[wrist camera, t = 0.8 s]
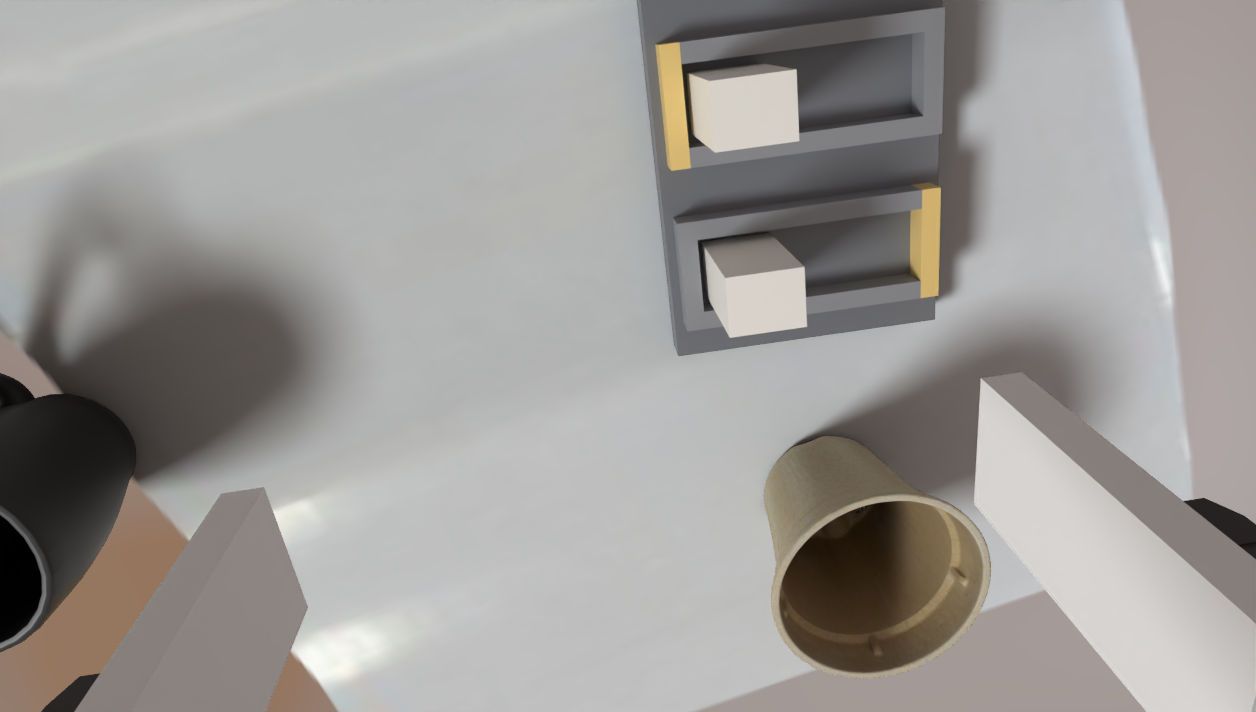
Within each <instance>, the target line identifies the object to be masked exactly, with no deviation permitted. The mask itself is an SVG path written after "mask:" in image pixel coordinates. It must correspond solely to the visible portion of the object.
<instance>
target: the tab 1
mask: <svg viewBox="0 0 1256 712" xmlns="http://www.w3.org/2000/svg"><path fill="white" fill-rule="evenodd" d="M686 79H687V90H688V101H689V112H690V123H691V134H692V135H694V136H695V137H696V138H697V139H699V140H700V141H701V142H702V143H704V144H705V145H706V146H707V147H709V148H710V149H711V150H712V151H714V152H715V153H717V152H724V151H731V150H739V149H746V148H753V147H761V146H768V145H775V144H782V143H790V142H797V141H799V118H798V94H797V69H792V68H786V67H780V66H775V65H769V64H764V63H754V64H747V65H740V66H732V67H725V68H717V69H710V70H702V71H695V72H687V73H686Z"/></svg>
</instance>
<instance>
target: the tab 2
mask: <svg viewBox="0 0 1256 712" xmlns="http://www.w3.org/2000/svg"><path fill="white" fill-rule="evenodd" d="M701 246H702V257H703V268H704V279H705V291H706V296H707V297H708V299H709V301H710V303H711V305H712V306H713V308H714V310H715V312H716V314H717V316H718V317H719V319H720V321H721V323H722V325H723V326H724V328H725V330H726V332H727V334H728V335H729V337H730V338H733V337H740V336H747V335H754V334H761V333H768V332H775V331H782V330H789V329H796V328H803V327H807V314H806V289H805V267H804V266H803V265H802V264H801V263H800V262H799V261H798V260H797V259H796V258H795V257H794V256H793V255H792V254H791V253H790V252H789V251H788V250H787V249H786V248H785V247H784V246H783V245H782V244H781V243H780V242H779V241H778V240H776V239H775V238H774V237H773V236H772V235H771V234H770V233H762V234H755V235H748V236H741V237H734V238H727V239H720V240H712V241H705V242H701Z"/></svg>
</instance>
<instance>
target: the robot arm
mask: <svg viewBox="0 0 1256 712" xmlns="http://www.w3.org/2000/svg"><path fill="white" fill-rule="evenodd" d="M974 504H975V505H976V507H977V508H978V509H979V510H980V511H981V513H982V514H983V515H984V516H985V517H986V519H987V520H988V521H989V522H990V523H991V525H992V526H993V527H994V528H995V530H996V531H997V532H998V533H999V534H1000V536H1001V537H1002V538H1003V539H1004V540H1005V542H1006V543H1007V544H1008V545H1009V546H1010V548H1011V549H1012V550H1013V551H1014V552H1015V554H1016V555H1017V556H1018V557H1019V558H1020V560H1021V561H1022V562H1023V563H1024V565H1025V566H1026V567H1027V568H1028V569H1029V571H1030V572H1031V573H1032V574H1033V575H1034V577H1035V578H1036V579H1037V580H1038V581H1039V583H1040V584H1041V585H1042V586H1043V587H1044V589H1045V590H1046V591H1047V592H1048V593H1049V595H1050V596H1051V597H1052V598H1053V600H1054V601H1055V602H1056V603H1057V604H1058V606H1059V607H1060V608H1061V609H1062V610H1063V612H1064V613H1065V614H1066V615H1067V616H1068V617H1069V619H1070V620H1071V621H1072V622H1073V624H1074V625H1075V626H1076V627H1077V628H1078V630H1079V631H1080V632H1081V633H1082V634H1083V636H1084V637H1085V638H1086V639H1087V640H1088V642H1089V643H1090V644H1091V645H1092V647H1093V648H1094V649H1095V650H1096V651H1097V653H1098V654H1099V655H1100V656H1101V657H1102V659H1103V660H1104V661H1105V662H1106V663H1107V665H1108V666H1109V667H1110V668H1111V669H1112V671H1113V672H1114V673H1115V674H1116V675H1117V677H1118V678H1119V679H1120V680H1121V682H1122V683H1123V684H1124V685H1125V686H1126V688H1127V689H1128V690H1129V691H1130V692H1131V694H1132V695H1133V696H1134V697H1135V698H1136V699H1137V701H1138V702H1139V703H1140V704H1141V706H1142V707H1143V708H1144V709H1145V711H1147V712H1256V525H1255V524H1254V523H1253V522H1251V521H1250V520H1249V519H1248V518H1246V517H1245V516H1243V515H1241V514H1239V513H1237V512H1234V511H1232V510H1230V509H1228V508H1225V507H1223V506H1221V505H1219V504H1217V503H1214V502H1212V501H1210V500H1207V499H1205V498H1201V499H1195V500H1189V501H1182V500H1181V499H1180V498H1178V497H1177V496H1176V495H1175V494H1173V493H1172V492H1171V491H1170V490H1169V489H1167V488H1166V487H1165V486H1164V485H1162V484H1161V483H1160V482H1159V481H1157V480H1156V479H1155V478H1154V477H1152V476H1151V475H1150V474H1149V473H1147V472H1146V471H1145V470H1144V469H1142V468H1141V467H1140V466H1139V465H1137V464H1136V463H1135V462H1134V461H1132V460H1131V459H1130V458H1129V457H1127V456H1126V455H1125V454H1124V453H1122V452H1121V451H1120V450H1119V449H1117V448H1116V447H1115V446H1114V445H1112V444H1111V443H1110V442H1109V441H1107V440H1106V439H1105V438H1104V437H1102V436H1101V435H1100V434H1099V433H1097V432H1096V431H1095V430H1094V429H1092V428H1091V427H1090V426H1089V425H1087V424H1086V423H1085V422H1084V421H1082V420H1081V419H1080V418H1079V417H1077V416H1076V415H1075V414H1074V413H1072V412H1071V411H1070V410H1069V409H1067V408H1066V407H1065V406H1064V405H1062V404H1061V403H1060V402H1059V401H1057V400H1056V399H1055V398H1054V397H1052V396H1051V395H1050V394H1049V393H1047V392H1046V391H1045V390H1044V389H1042V388H1041V387H1040V386H1039V385H1037V384H1036V383H1035V382H1034V381H1032V380H1031V379H1030V378H1029V377H1027V376H1026V375H1025V374H1024V373H1022V372H1018V373H1012V374H1005V375H998V376H992V377H985V378H981V384H980V402H979V420H978V438H977V457H976V475H975V493H974ZM307 608H308V606H307V603H306V601H305V598H304V595H303V593H302V590H301V587H300V584H299V582H298V579H297V576H296V573H295V571H294V568H293V565H292V562H291V560H290V557H289V554H288V552H287V549H286V546H285V543H284V541H283V538H282V535H281V532H280V530H279V527H278V524H277V521H276V519H275V516H274V513H273V511H272V508H271V505H270V502H269V500H268V497H267V494H266V491H265V489H264V487H263V488H256V489H250V490H243V491H237V492H230V493H224V494H221V495H220V496H219V498H218V499H217V501H216V502H215V504H214V505H213V507H212V508H211V510H210V511H209V513H208V514H207V516H206V517H205V519H204V520H203V522H202V523H201V525H200V526H199V528H198V529H197V531H196V532H195V534H194V535H193V537H192V538H191V540H190V541H189V542H188V544H187V545H186V547H185V549H184V550H183V552H182V553H181V555H180V556H179V557H178V559H177V560H176V562H175V563H174V565H173V566H172V568H171V569H170V571H169V572H168V574H167V575H166V577H165V578H164V580H163V581H162V583H161V584H160V586H159V587H158V589H157V590H156V592H155V593H154V594H153V596H152V597H151V599H150V600H149V602H148V603H147V605H146V606H145V608H144V609H143V611H142V612H141V614H140V615H139V617H138V618H137V620H136V621H135V623H134V624H133V626H132V627H131V629H130V630H129V632H128V633H127V635H126V636H125V637H124V639H123V640H122V642H121V644H120V645H119V646H118V648H117V649H116V651H115V652H114V654H113V655H112V657H111V658H110V660H109V661H108V663H107V664H106V666H105V667H104V669H103V670H102V672H101V673H100V674H94V675H87V676H80V677H79V678H78V679H76V680H75V681H74V682H73V683H72V684H71V685H70V686H68V687H67V688H66V689H65V690H64V691H63V692H61V694H59V695H58V696H57V697H56V698H55V699H54V700H52V701H51V702H50V703H49V704H48V705H47V706H46V707H45V708H44V709H43V710H42V712H266V709H267V707H268V704H269V702H270V699H271V697H272V695H273V692H274V690H275V687H276V684H277V682H278V680H279V677H280V675H281V672H282V670H283V667H284V665H285V663H286V660H287V658H288V655H289V653H290V650H291V648H292V645H293V643H294V640H295V638H296V635H297V633H298V631H299V628H300V626H301V623H302V621H303V618H304V616H305V613H306V611H307Z"/></svg>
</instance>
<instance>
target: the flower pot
mask: <svg viewBox="0 0 1256 712" xmlns="http://www.w3.org/2000/svg"><path fill="white" fill-rule="evenodd" d="M764 501H765V508H766V512H767V515H768V520H769V524H770V529H771V535H772V540H773V546H774V552H775V557H776V570H775V576H774V580H773V584H772V592H771V607H772V613H773V617H774V621H775V624H776V627H777V630H778V632H779V634H780V636H781V638H782V640H783V641H784V642H785V644H786V645H787V646H788V648H789V649H790V650H791V651H792V652H793V653H794V654H795V655H796V656H797V657H799V658H800V659H801V660H803V661H804V662H806V663H808V664H809V665H811V666H812V667H814V668H817V669H819V670H821V671H824V672H827V673H830V674H835V675H838V676H845V677H851V678H880V677H884V676H890V675H893V674H899V673H903V672H905V671H909V670H910V669H914V668H916V667H918V666H921V665H922V664H924V663H926V662H928V661H930V660H932V659H934V658H937V657H938V655H940V654H942V653H943V652H944V651H946V650H947V649H948V648H949V647H951V646H952V645H953V644H954V643H956V642H957V641H958V640H959V639H960V638H961V637H962V635H963V634H964V633H965V632H966V631H967V630H968V628H969V627H970V626H971V625H972V623H973V621H974V620H975V618H976V616H977V615H978V613H979V611H980V609H981V607H982V606H983V603H984V601H985V598H986V596H987V592H988V588H989V584H990V577H991V562H990V556H989V551H988V548H987V545H986V542H985V539H984V537H983V536H982V533H981V532H980V531H979V529H978V528H977V526H976V525H975V524H974V523H973V522H972V521H971V520H970V519H969V518H968V517H967V516H966V515H965V514H964V513H963V512H961V511H960V510H959V509H957V508H956V507H954V506H953V505H951V504H950V503H948V502H946V501H943V500H941V499H939V498H936V497H933V496H929V495H927V494H924V493H922V492H920V491H917V490H915V489H914V488H913V487H912V486H910V485H909V484H908V483H907V482H906V481H904V480H903V479H902V478H901V477H900V476H898V475H897V474H896V473H895V472H894V471H893V470H891V469H890V468H889V467H888V466H887V465H886V464H884V463H883V462H882V461H881V460H880V459H879V458H878V457H876V456H875V455H874V454H873V453H872V452H871V451H870V450H869V449H867V448H866V447H865V446H863V445H862V444H860V443H858V442H856V441H854V440H851V439H848V438H844V437H838V436H822V437H819V438H817V439H815V440H812V441H810V442H807V443H804V444H801V445H798V446H794V447H792V448H791V449H790V450H788V451H787V452H786V453H785V454H784V455H783V456H782V457H781V458H780V459H779V460H778V461H777V462H776V464H775V465H774V466H773V468H772V470H771V471H770V473H769V476H768V478H767V481H766V485H765V490H764ZM863 506H866V507H865V509H863V510H862V511H861V512H859V513H857V512H856V511H857V510H858V508H860V507H863Z"/></svg>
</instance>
